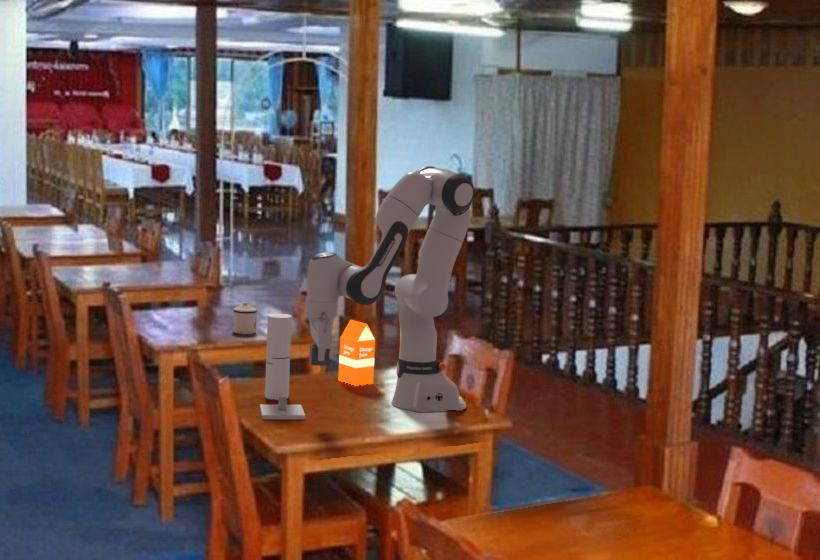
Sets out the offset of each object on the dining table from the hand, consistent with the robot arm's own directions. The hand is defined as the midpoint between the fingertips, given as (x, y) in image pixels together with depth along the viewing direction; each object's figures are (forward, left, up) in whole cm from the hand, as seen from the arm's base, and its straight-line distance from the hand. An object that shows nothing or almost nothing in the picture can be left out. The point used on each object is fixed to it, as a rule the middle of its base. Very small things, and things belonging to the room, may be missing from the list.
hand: (319, 358), depth 341 cm
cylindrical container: (+10, -24, -18) cm, 31 cm away
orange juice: (-17, -44, -18) cm, 50 cm away
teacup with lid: (+15, -127, -18) cm, 129 cm away
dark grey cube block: (0, 0, -2) cm, 2 cm away
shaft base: (+10, -4, -17) cm, 20 cm away
